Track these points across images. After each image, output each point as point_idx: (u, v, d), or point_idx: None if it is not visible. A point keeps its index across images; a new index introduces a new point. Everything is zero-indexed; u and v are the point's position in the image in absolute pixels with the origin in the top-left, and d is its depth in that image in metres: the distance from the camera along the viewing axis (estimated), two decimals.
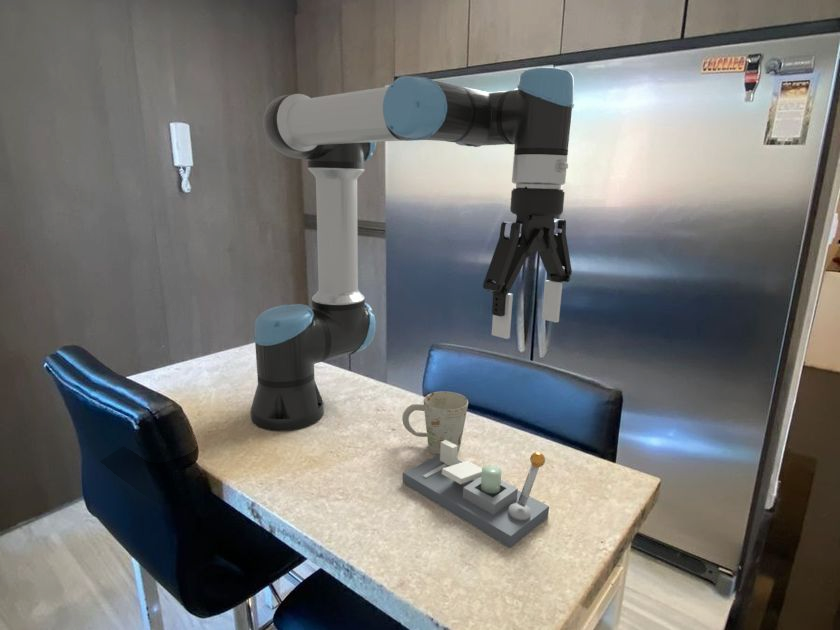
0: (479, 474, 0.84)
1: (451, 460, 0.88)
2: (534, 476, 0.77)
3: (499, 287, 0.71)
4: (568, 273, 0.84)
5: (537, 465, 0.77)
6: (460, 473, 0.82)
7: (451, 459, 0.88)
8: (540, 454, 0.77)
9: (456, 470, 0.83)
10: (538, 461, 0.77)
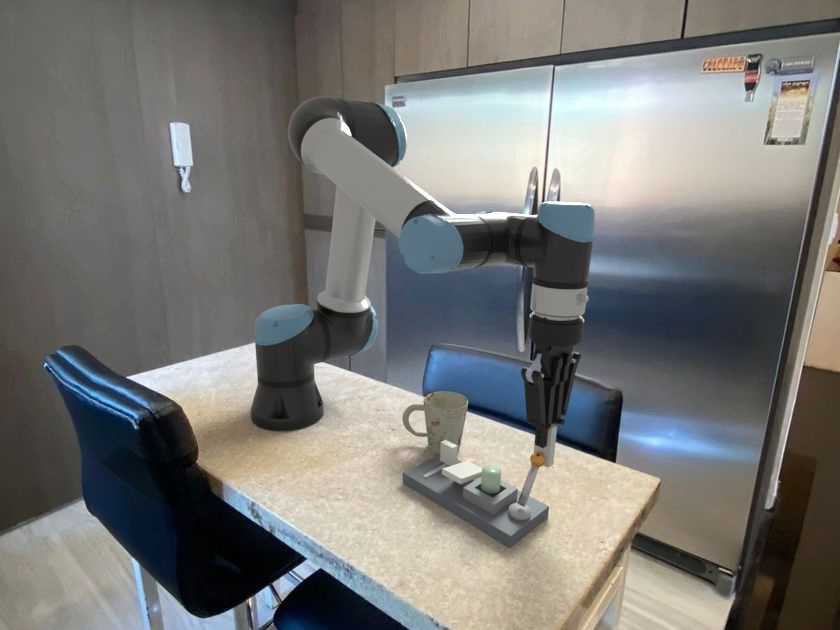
0: (479, 474, 0.84)
1: (451, 460, 0.88)
2: (534, 476, 0.77)
3: (543, 426, 0.74)
4: (563, 411, 0.78)
5: (537, 465, 0.77)
6: (460, 473, 0.82)
7: (451, 459, 0.88)
8: (540, 454, 0.77)
9: (456, 470, 0.83)
10: (538, 461, 0.77)
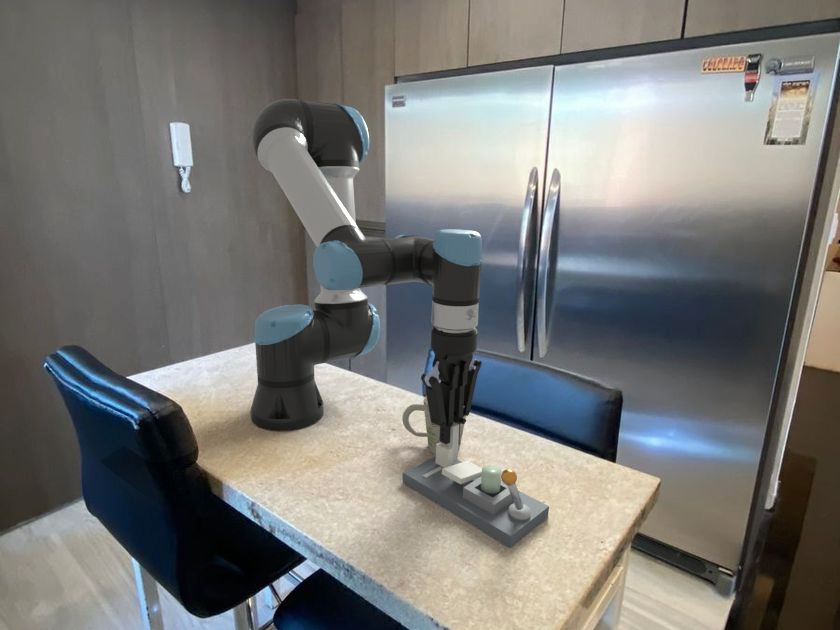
0: (479, 474, 0.84)
1: (447, 462, 0.88)
2: (515, 490, 0.74)
3: (443, 425, 0.85)
4: (466, 412, 0.89)
5: (511, 485, 0.73)
6: (460, 473, 0.82)
7: (447, 461, 0.88)
8: (508, 477, 0.72)
9: (456, 470, 0.83)
10: (509, 484, 0.72)
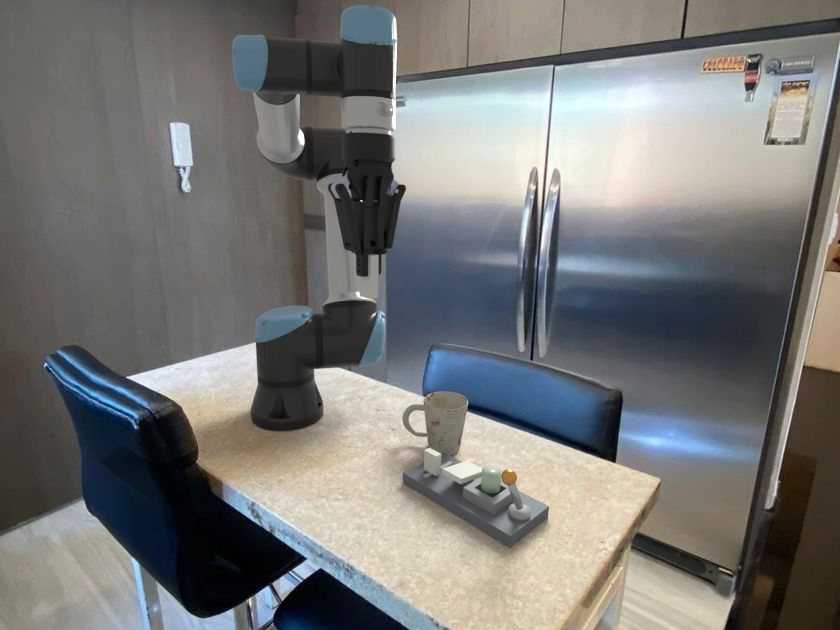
0: (479, 474, 0.84)
1: (435, 469, 0.86)
2: (515, 490, 0.74)
3: (357, 248, 0.74)
4: (387, 243, 0.78)
5: (511, 485, 0.73)
6: (460, 473, 0.82)
7: (435, 468, 0.86)
8: (508, 477, 0.72)
9: (456, 470, 0.83)
10: (509, 484, 0.72)
